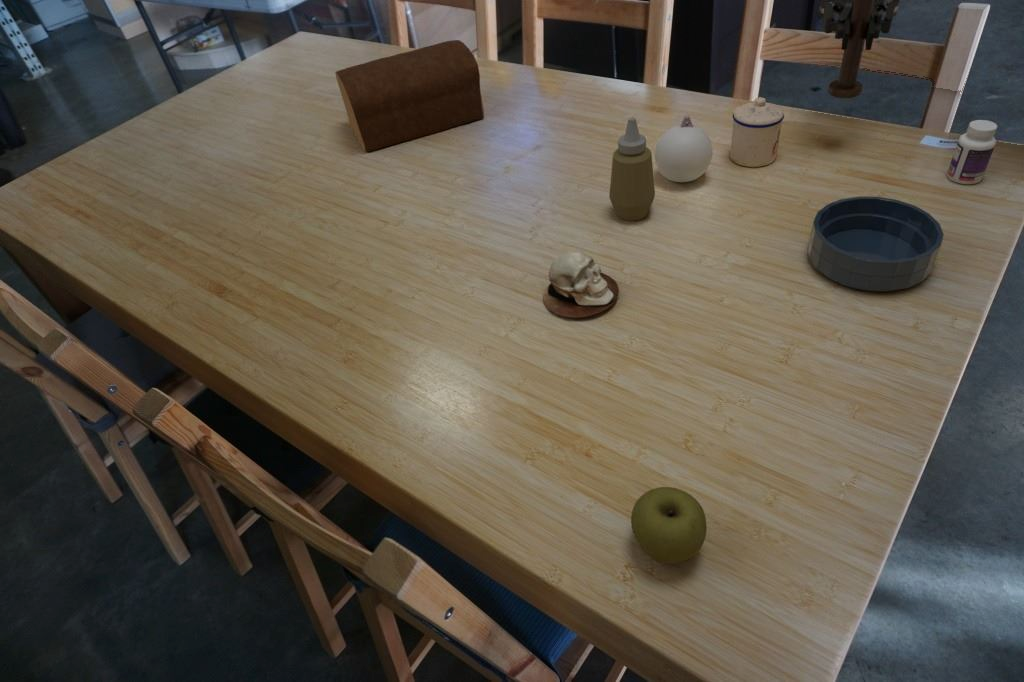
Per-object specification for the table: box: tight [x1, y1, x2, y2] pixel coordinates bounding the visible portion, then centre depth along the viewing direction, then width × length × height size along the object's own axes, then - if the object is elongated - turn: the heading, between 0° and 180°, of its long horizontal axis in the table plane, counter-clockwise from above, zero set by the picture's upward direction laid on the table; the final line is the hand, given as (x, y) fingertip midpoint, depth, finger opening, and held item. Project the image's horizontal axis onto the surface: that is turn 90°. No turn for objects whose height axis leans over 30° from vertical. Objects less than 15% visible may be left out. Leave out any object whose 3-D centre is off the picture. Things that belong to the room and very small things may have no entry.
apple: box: [630, 486, 707, 564], centre depth 72 cm, size 8×8×7 cm
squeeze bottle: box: [608, 117, 656, 222], centre depth 116 cm, size 8×8×18 cm
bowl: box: [807, 195, 945, 292], centre depth 103 cm, size 17×17×6 cm
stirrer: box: [827, 0, 874, 99], centre depth 116 cm, size 6×6×20 cm
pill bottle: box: [946, 119, 998, 185], centre depth 114 cm, size 5×5×10 cm
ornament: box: [654, 115, 713, 183], centre depth 125 cm, size 10×10×12 cm
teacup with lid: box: [729, 96, 785, 168], centre depth 128 cm, size 12×9×12 cm
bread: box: [335, 39, 485, 153], centre depth 156 cm, size 18×30×16 cm, turn 112°
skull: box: [542, 250, 620, 319], centre depth 106 cm, size 12×10×10 cm
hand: (857, 41), depth 112 cm, fingers closed on stirrer, 3 cm apart
